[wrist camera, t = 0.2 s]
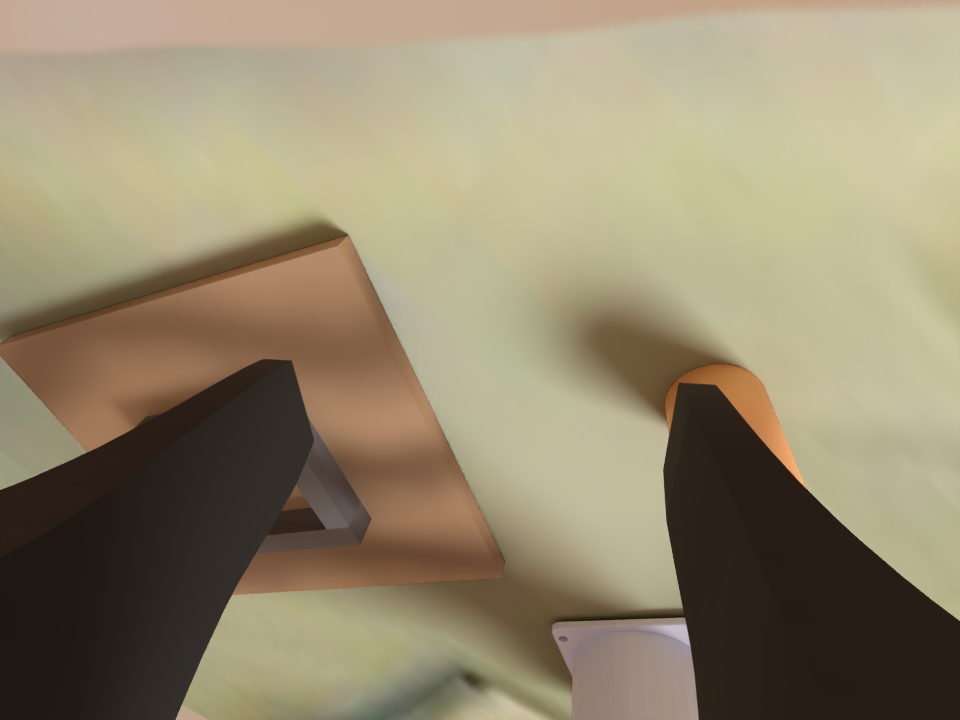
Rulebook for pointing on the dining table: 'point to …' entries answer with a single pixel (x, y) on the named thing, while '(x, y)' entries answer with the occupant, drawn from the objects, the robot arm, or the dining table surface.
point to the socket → (328, 402)
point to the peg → (741, 405)
